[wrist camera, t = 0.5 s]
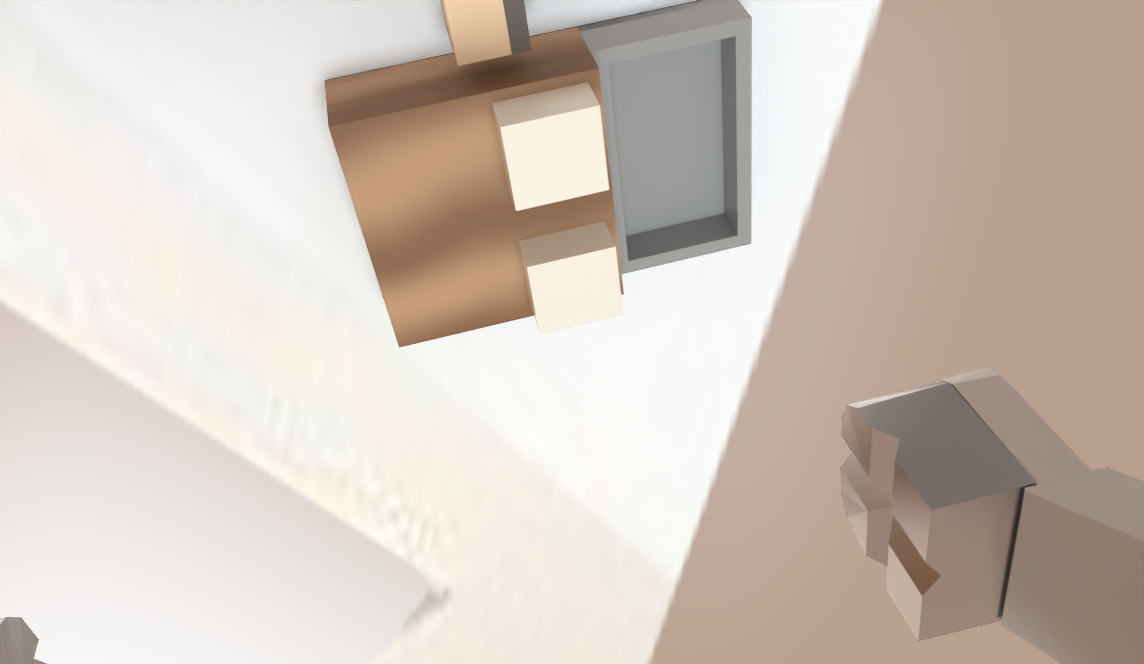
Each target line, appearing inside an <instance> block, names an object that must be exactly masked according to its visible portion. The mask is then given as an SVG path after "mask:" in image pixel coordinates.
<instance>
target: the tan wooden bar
mask: <svg viewBox="0 0 1144 664" xmlns="http://www.w3.org/2000/svg"><path fill="white" fill-rule="evenodd" d="M441 4H442V8H443V13H444V18H445V22H446V27H447V31H448V35H449V38H450V41H451V45H452V48H453V51H454V55H455V58H456V61H457V65H458V66H461V65H465V64H470V63H475V62H479V61H484V60H489V59H493V58H498V57H503V56H507V55H512V54H517V53H521V52H526V51H531V45H530V38H529V32H528V26H527V19H526V13H525V6H524V0H441Z"/></svg>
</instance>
